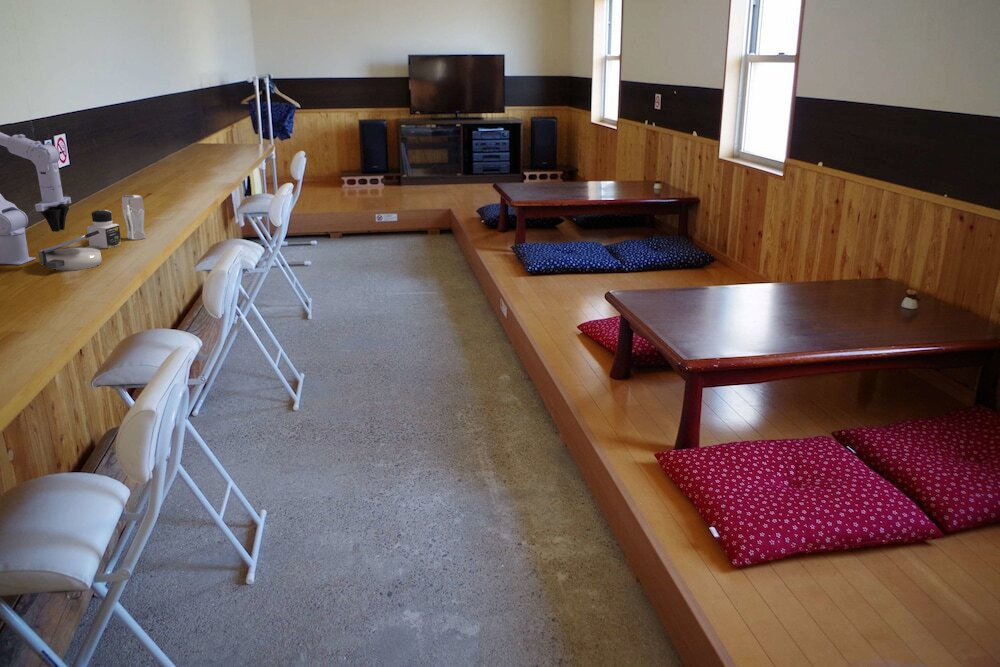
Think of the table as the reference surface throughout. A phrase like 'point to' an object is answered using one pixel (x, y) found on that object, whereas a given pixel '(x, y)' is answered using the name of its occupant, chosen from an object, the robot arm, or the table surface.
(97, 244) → the medicine bottle
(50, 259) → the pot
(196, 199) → the table surface
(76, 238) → the lid
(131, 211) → the beer glass
